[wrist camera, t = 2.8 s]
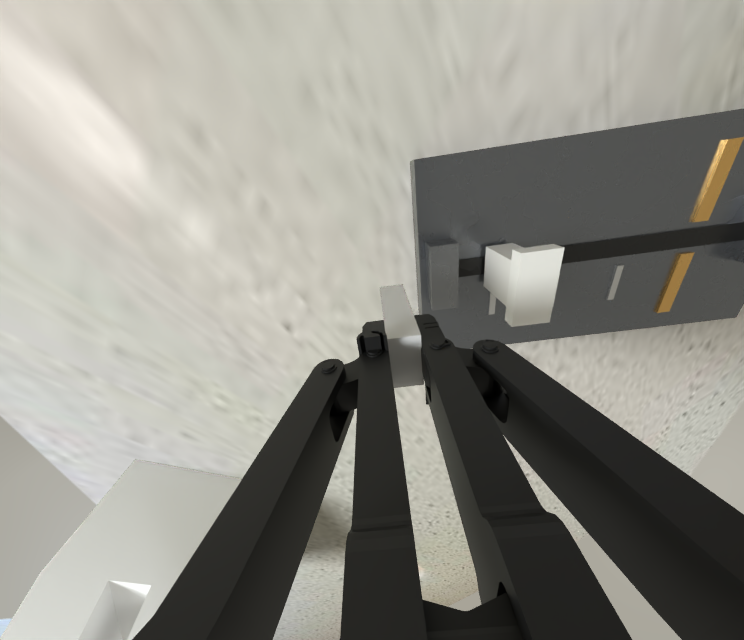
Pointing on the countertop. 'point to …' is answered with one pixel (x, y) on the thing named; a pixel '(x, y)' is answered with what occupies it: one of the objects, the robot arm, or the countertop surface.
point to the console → (588, 228)
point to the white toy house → (123, 556)
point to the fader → (523, 280)
